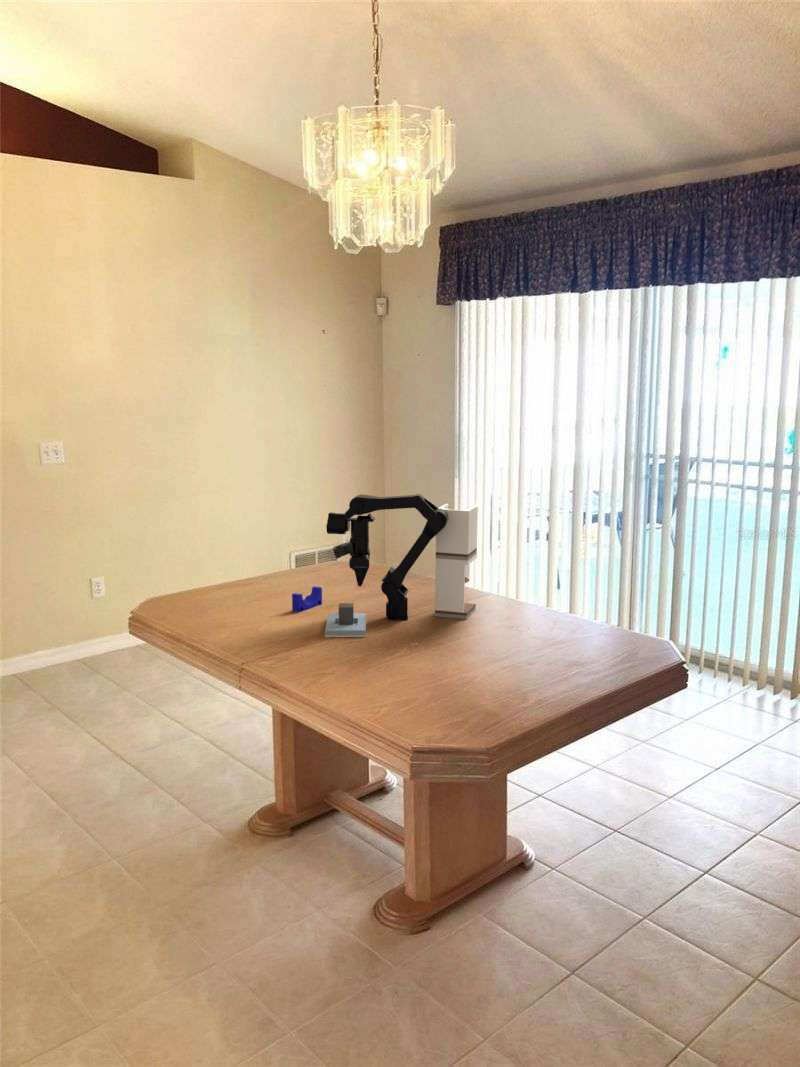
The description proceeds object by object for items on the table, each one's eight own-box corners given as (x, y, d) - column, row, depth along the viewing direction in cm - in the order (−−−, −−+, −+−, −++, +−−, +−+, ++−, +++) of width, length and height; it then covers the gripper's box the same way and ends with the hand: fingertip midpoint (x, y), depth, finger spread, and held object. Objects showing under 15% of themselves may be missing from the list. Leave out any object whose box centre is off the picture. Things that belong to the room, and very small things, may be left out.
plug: (353, 624, 270) (353, 603, 269) (353, 628, 266) (353, 607, 264) (339, 624, 270) (339, 603, 269) (338, 628, 266) (338, 607, 264)
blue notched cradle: (311, 602, 297) (311, 585, 295) (322, 604, 294) (321, 587, 293) (288, 610, 287) (288, 593, 285) (299, 613, 284) (299, 595, 283)
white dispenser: (466, 619, 277) (469, 511, 271) (434, 616, 281) (436, 509, 274) (475, 610, 288) (477, 505, 281) (444, 607, 291) (446, 503, 285)
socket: (366, 619, 277) (366, 613, 276) (365, 636, 259) (365, 630, 259) (328, 619, 277) (328, 613, 276) (325, 636, 259) (324, 630, 258)
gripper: (335, 529, 285) (336, 575, 288) (332, 540, 266) (333, 590, 269) (369, 529, 285) (369, 575, 288) (369, 540, 266) (369, 590, 269)
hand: (360, 582), depth 279 cm, fingers open, 9 cm apart
